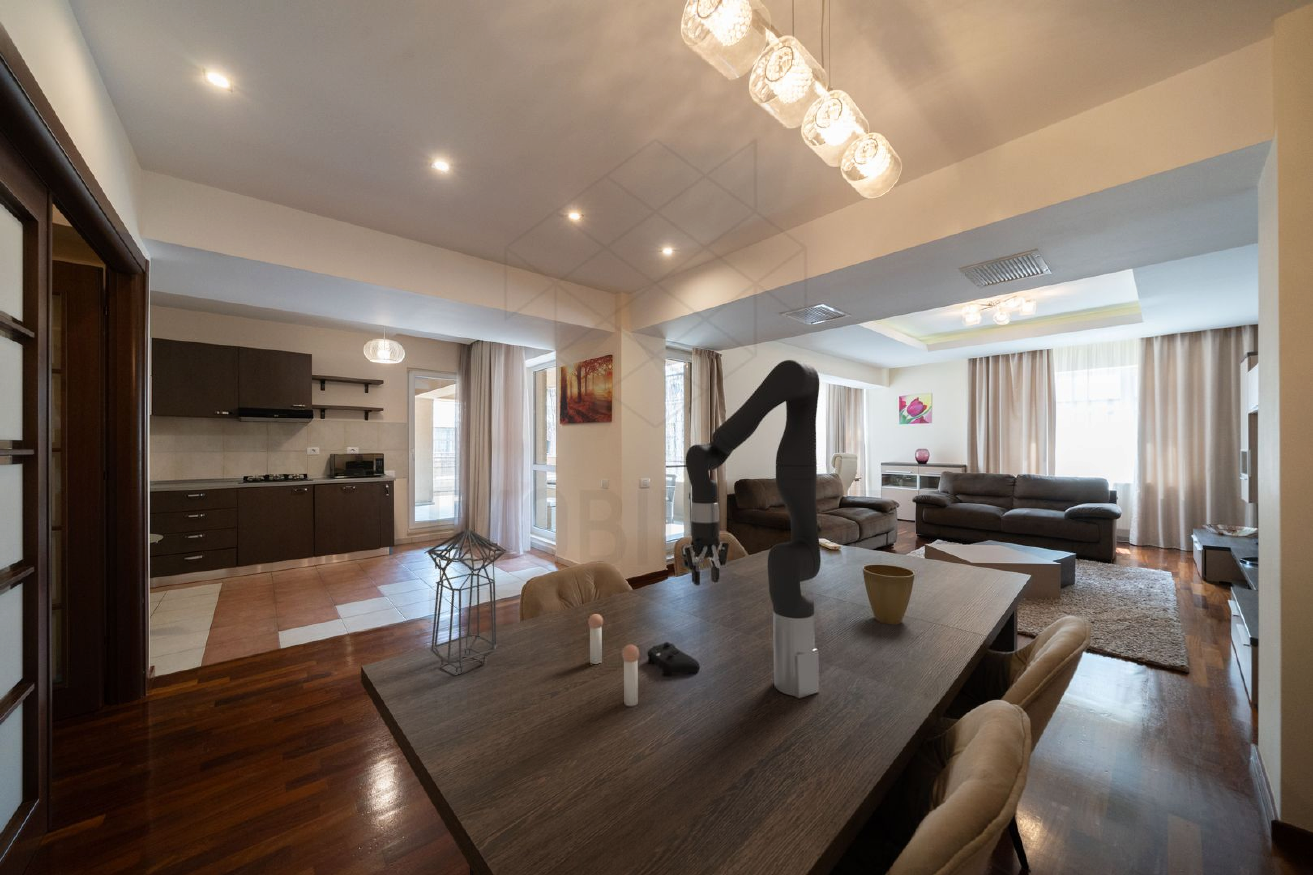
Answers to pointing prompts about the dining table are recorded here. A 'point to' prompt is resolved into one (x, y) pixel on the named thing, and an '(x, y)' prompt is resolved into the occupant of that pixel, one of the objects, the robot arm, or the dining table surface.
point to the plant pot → (888, 591)
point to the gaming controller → (672, 660)
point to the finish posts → (628, 654)
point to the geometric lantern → (481, 542)
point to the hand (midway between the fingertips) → (705, 582)
